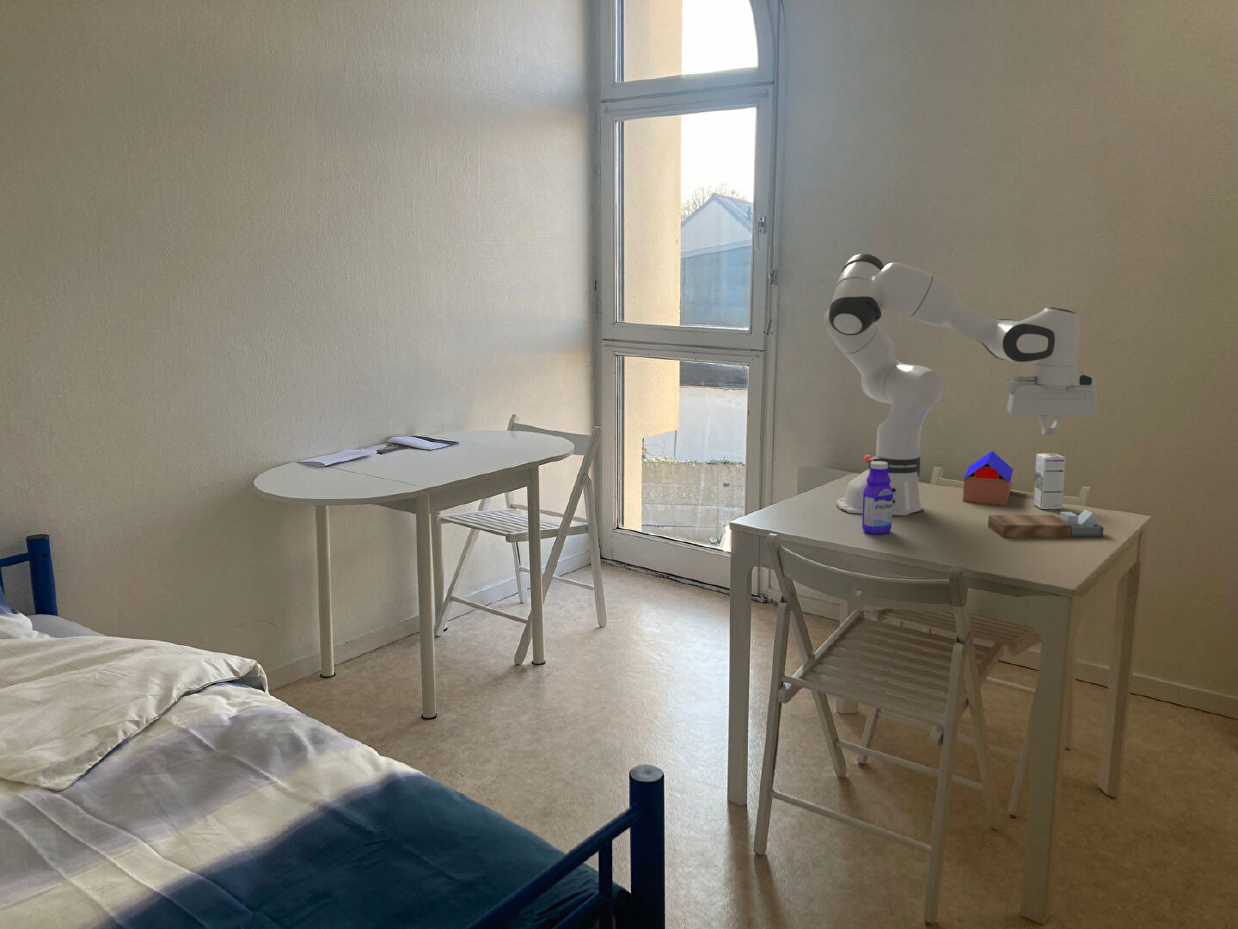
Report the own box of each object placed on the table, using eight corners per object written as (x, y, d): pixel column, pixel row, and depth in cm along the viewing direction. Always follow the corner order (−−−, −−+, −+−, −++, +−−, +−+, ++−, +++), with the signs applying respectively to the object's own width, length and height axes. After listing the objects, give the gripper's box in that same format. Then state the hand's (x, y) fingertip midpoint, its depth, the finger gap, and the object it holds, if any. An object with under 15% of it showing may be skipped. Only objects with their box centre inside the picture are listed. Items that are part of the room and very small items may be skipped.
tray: (1071, 537, 228) (1071, 527, 227) (1053, 526, 237) (1054, 517, 236) (1102, 537, 227) (1103, 527, 227) (1084, 526, 237) (1085, 517, 236)
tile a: (1092, 513, 229) (1099, 519, 229) (1084, 509, 233) (1092, 515, 233) (1080, 525, 230) (1088, 531, 230) (1073, 521, 234) (1080, 527, 234)
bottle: (873, 536, 229) (876, 465, 226) (857, 531, 234) (860, 461, 231) (895, 532, 232) (899, 463, 229) (879, 527, 237) (882, 459, 234)
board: (1002, 537, 228) (1003, 525, 227) (987, 526, 238) (988, 515, 237) (1070, 537, 227) (1071, 525, 227) (1052, 526, 237) (1053, 515, 237)
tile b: (1076, 531, 230) (1066, 531, 230) (1069, 527, 234) (1059, 527, 234) (1078, 515, 229) (1067, 515, 229) (1070, 511, 233) (1060, 511, 233)
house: (961, 502, 264) (964, 461, 262) (968, 488, 282) (970, 449, 280) (1007, 506, 259) (1010, 464, 257) (1011, 491, 277) (1014, 452, 275)
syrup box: (1062, 510, 254) (1067, 456, 251) (1040, 510, 254) (1044, 457, 251) (1053, 505, 259) (1057, 453, 257) (1031, 505, 259) (1035, 453, 257)
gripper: (1015, 377, 222) (1010, 435, 225) (1103, 378, 222) (1097, 437, 225) (1005, 375, 228) (1000, 431, 231) (1090, 376, 228) (1084, 432, 231)
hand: (1048, 434), depth 228 cm, fingers closed
